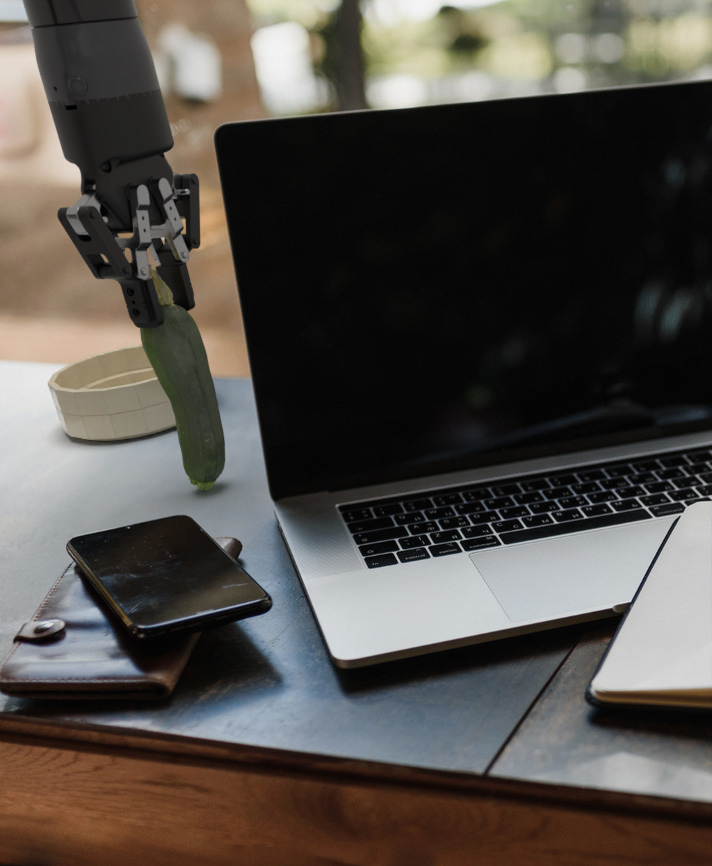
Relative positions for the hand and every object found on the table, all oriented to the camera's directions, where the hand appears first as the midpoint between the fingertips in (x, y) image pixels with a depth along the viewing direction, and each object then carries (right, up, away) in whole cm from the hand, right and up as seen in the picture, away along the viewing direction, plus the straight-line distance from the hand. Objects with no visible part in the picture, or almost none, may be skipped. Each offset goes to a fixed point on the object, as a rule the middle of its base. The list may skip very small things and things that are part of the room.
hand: (165, 317), depth 84 cm
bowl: (-13, -7, +24) cm, 29 cm away
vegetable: (+1, -14, +6) cm, 15 cm away
